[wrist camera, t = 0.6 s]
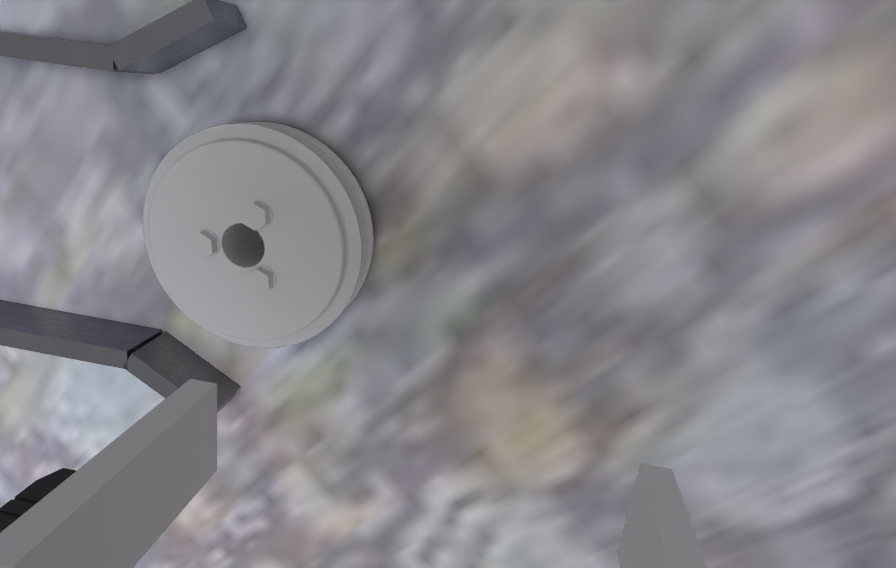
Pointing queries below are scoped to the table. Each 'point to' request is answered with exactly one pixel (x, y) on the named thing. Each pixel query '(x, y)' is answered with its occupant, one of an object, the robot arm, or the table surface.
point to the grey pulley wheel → (235, 238)
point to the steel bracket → (101, 339)
